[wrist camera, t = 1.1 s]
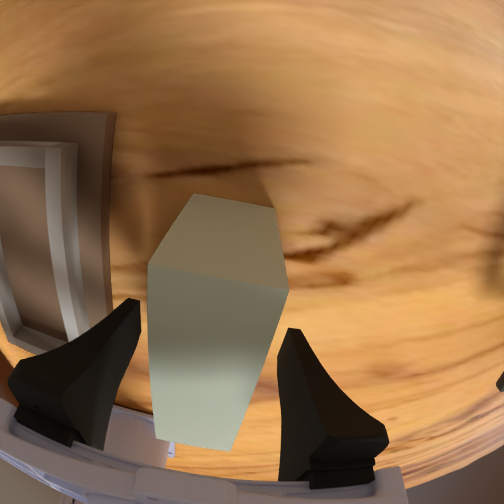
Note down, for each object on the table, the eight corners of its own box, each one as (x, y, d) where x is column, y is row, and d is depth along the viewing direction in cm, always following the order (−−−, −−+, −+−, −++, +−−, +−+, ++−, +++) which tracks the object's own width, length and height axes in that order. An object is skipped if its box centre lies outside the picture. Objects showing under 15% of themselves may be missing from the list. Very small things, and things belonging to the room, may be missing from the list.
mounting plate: (120, 368, 20) (111, 392, 18) (16, 330, 19) (2, 348, 17) (116, 112, 12) (91, 115, 10) (-18, 116, 11) (-43, 123, 9)
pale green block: (235, 360, 19) (230, 451, 13) (178, 350, 19) (156, 438, 13) (275, 207, 14) (289, 289, 8) (194, 192, 14) (147, 263, 8)
